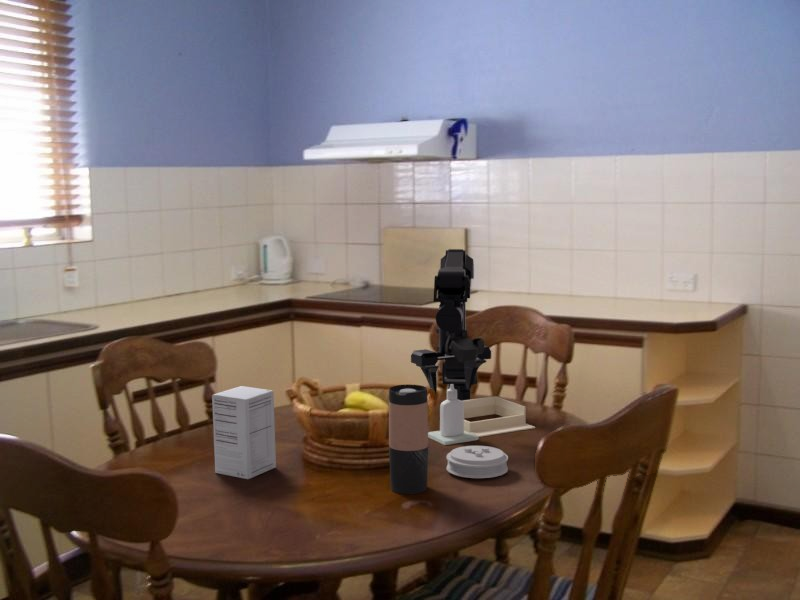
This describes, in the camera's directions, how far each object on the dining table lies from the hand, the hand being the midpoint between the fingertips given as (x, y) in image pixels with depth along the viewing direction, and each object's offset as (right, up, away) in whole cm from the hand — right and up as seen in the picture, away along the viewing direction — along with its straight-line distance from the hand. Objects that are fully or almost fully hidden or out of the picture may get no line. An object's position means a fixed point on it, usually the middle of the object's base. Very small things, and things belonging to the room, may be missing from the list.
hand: (451, 391), depth 221 cm
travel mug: (-10, -16, -35) cm, 39 cm away
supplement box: (-44, -15, -22) cm, 52 cm away
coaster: (0, -11, +2) cm, 11 cm away
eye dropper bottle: (0, -10, +1) cm, 11 cm away
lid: (+4, -15, -24) cm, 29 cm away
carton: (+10, -9, +13) cm, 19 cm away
